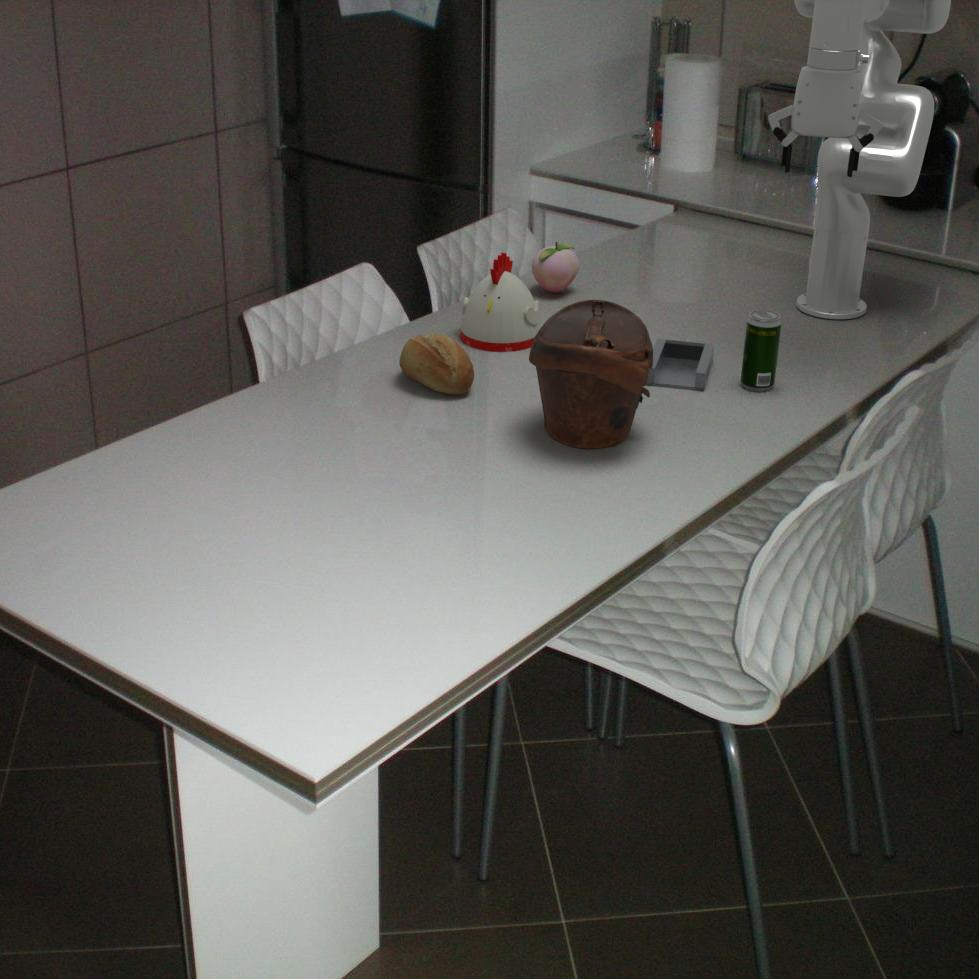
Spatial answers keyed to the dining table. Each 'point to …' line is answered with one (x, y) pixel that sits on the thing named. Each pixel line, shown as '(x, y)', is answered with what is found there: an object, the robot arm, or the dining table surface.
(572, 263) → the decorative fruit
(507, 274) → the kitchen timer
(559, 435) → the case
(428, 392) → the dining table surface
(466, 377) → the bread roll
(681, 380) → the grey tray
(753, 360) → the beer can
